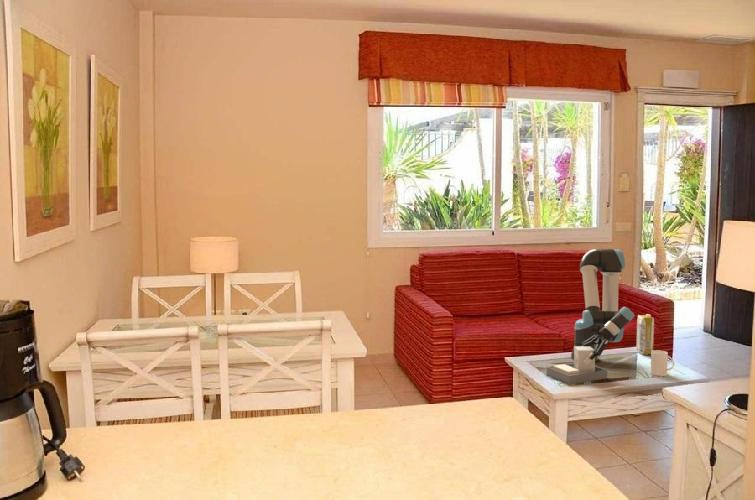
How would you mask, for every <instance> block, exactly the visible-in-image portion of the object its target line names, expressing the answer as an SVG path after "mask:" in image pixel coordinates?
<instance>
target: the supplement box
mask: <svg viewBox="0 0 755 500" xmlns="http://www.w3.org/2000/svg"><path fill="white" fill-rule="evenodd" d="M573 348H574V359H573V363H574V368H575V369H578V370H579V374H581V373H588V372H594V371H595V366H596V361H595V358H594V359H593V360H592V361H591V362H590V363H589V364H588V365H587V364H586V363H585V362H584V360H585V359H586V358H587V357H588V356H589V355H590V354H591V353H593V351H594V349H593V348H592V347H590V346H573ZM593 354H594V353H593Z"/></svg>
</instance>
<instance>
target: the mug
mask: <svg viewBox="0 0 755 500" xmlns="http://www.w3.org/2000/svg"><path fill="white" fill-rule="evenodd" d="M650 356H651V358H650V359H651V360H650V372H649V373H650V374H651V375H653V376H657V377H666V376H668V371H671V370H672V369H673V368H674V366H675V361H674V359H673V358H672V357H671V356H669V355H668V351H664V350H660V349H658V350H657V349H656V350H655V349H653V351H651V355H650ZM668 359H670V360H671V361H672V366H671V367H668Z"/></svg>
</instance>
